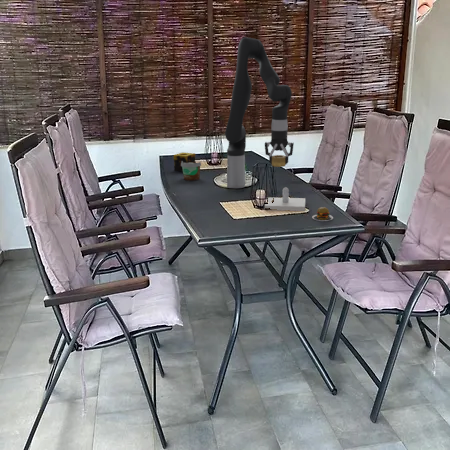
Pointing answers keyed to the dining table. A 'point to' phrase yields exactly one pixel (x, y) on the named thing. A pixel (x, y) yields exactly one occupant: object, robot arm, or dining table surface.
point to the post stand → (286, 202)
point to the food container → (191, 171)
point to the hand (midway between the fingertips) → (278, 163)
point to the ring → (278, 160)
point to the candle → (185, 158)
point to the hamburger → (323, 214)
